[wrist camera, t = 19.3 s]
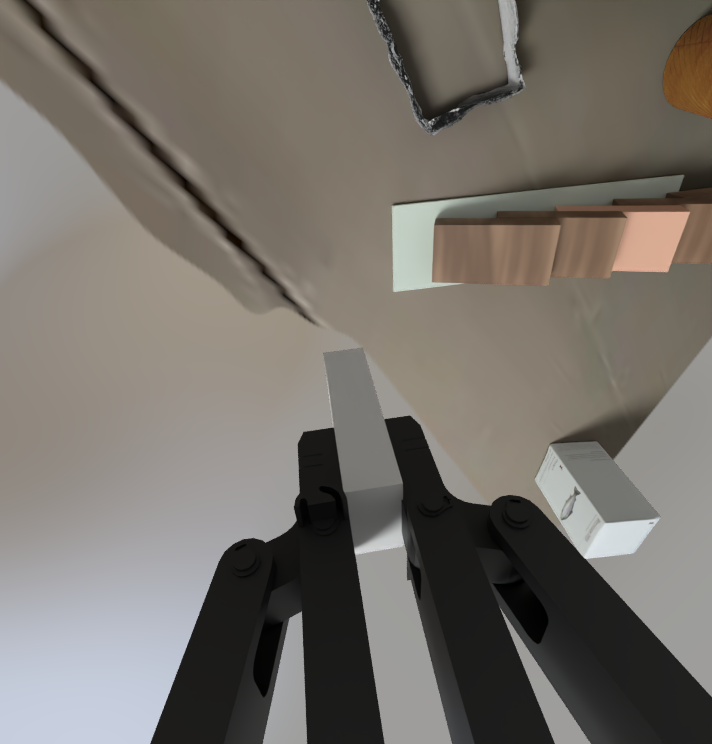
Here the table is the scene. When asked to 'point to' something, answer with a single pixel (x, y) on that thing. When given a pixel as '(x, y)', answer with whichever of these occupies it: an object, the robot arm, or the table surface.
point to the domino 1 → (494, 250)
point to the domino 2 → (582, 240)
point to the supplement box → (594, 500)
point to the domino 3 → (645, 235)
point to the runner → (419, 218)
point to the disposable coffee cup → (691, 70)
